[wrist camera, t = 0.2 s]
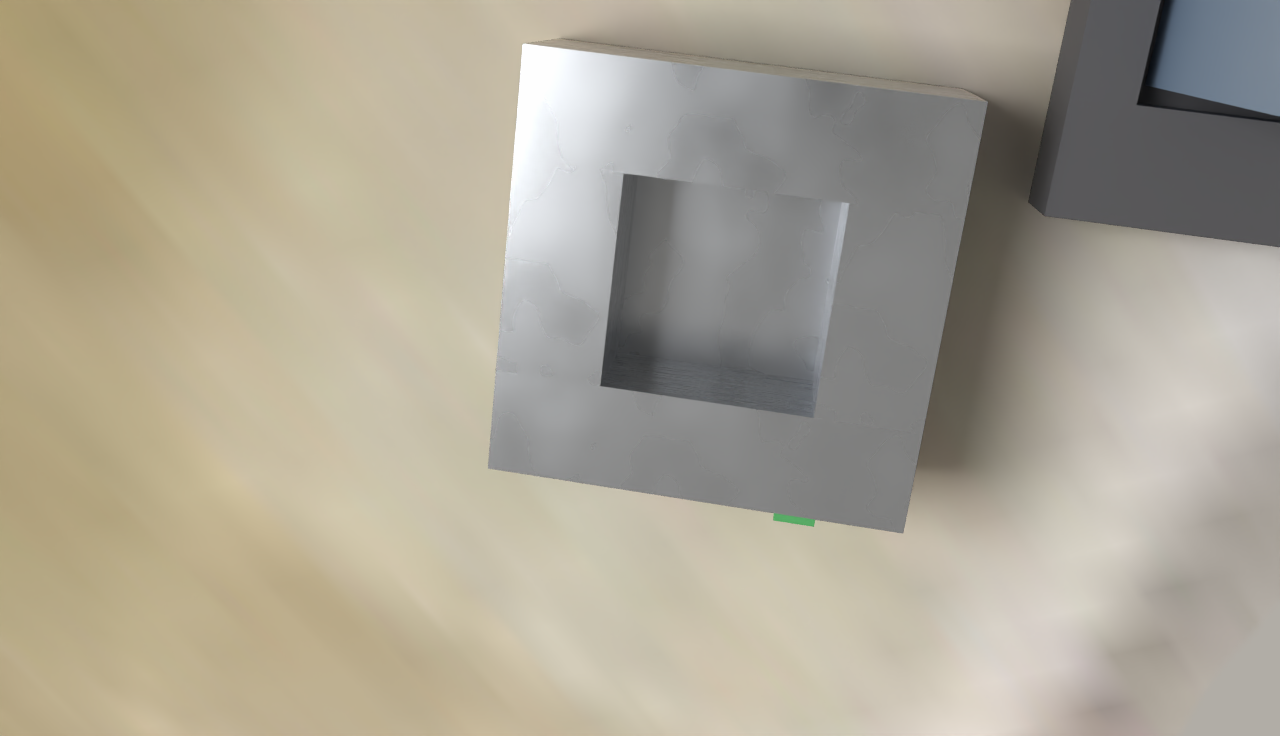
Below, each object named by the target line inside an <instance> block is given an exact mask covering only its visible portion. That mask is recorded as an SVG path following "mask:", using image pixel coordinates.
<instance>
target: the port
mask: <svg viewBox="0 0 1280 736" xmlns="http://www.w3.org/2000/svg"><path fill="white" fill-rule="evenodd" d="M987 104H988V101H986V100H984V99H982V98H980V97H978V96H976V95H974V94H972V93H970V92H968V91H966V90H964V89H961V88H953V87H945V86H937V85H929V84H921V83H913V82H905V81H897V80H889V79H881V78H873V77H865V76H857V75H849V74H840V73H832V72H824V71H816V70H808V69H800V68H792V67H784V66H776V65H768V64H760V63H752V62H744V61H736V60H728V59H720V58H712V57H704V56H696V55H688V54H680V53H672V52H664V51H655V50H647V49H639V48H631V47H623V46H615V45H607V44H599V43H591V42H583V41H575V40H567V39H552V40H545V41H538V42H531V43H524V44H523V49H522V61H521V73H520V86H519V98H518V110H517V122H516V134H515V146H514V158H513V171H512V183H511V195H510V207H509V219H508V231H507V243H506V256H505V268H504V280H503V292H502V304H501V316H500V328H499V341H498V353H497V365H496V377H495V389H494V401H493V413H492V426H491V438H490V450H489V462H488V468H489V469H495V470H502V471H508V472H515V473H521V474H527V475H534V476H540V477H546V478H553V479H559V480H566V481H572V482H578V483H585V484H591V485H598V486H604V487H610V488H617V489H623V490H629V491H636V492H642V493H649V494H655V495H661V496H668V497H674V498H680V499H687V500H693V501H700V502H706V503H712V504H719V505H725V506H731V507H738V508H744V509H751V510H757V511H763V512H770V513H774V515H773V520H775V521H781V522H787V523H794V524H800V525H806V526H813V527H814V523H815V520H821V521H827V522H834V523H840V524H846V525H853V526H859V527H865V528H872V529H878V530H885V531H891V532H897V533H903V532H904V527H905V522H906V517H907V512H908V506H909V501H910V496H911V491H912V486H913V481H914V476H915V471H916V466H917V461H918V456H919V451H920V445H921V440H922V435H923V430H924V425H925V420H926V415H927V410H928V405H929V400H930V395H931V389H932V384H933V379H934V374H935V369H936V364H937V359H938V354H939V349H940V344H941V339H942V333H943V328H944V323H945V318H946V313H947V308H948V303H949V298H950V293H951V288H952V283H953V277H954V272H955V267H956V262H957V257H958V252H959V247H960V242H961V237H962V232H963V227H964V222H965V216H966V211H967V206H968V201H969V196H970V191H971V186H972V181H973V176H974V171H975V166H976V160H977V155H978V150H979V145H980V140H981V135H982V130H983V125H984V120H985V115H986V110H987Z"/></svg>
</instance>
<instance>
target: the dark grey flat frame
mask: <svg viewBox="0 0 1280 736" xmlns="http://www.w3.org/2000/svg"><path fill="white" fill-rule="evenodd" d="M1164 1H1165V0H1071V3H1070V8H1069V12H1068V17H1067V22H1066V27H1065V31H1064V36H1063V41H1062V45H1061V50H1060V55H1059V60H1058V64H1057V69H1056V74H1055V79H1054V83H1053V88H1052V93H1051V98H1050V102H1049V107H1048V112H1047V116H1046V121H1045V126H1044V131H1043V135H1042V140H1041V145H1040V150H1039V154H1038V159H1037V164H1036V168H1035V173H1034V178H1033V183H1032V187H1031V192H1030V197H1029V203H1030V204H1031V205H1032V206H1034V207H1035V208H1036V209H1037V210H1038V211H1039V212H1040V213H1042V214H1043V215H1044V216H1049V217H1056V218H1064V219H1071V220H1079V221H1087V222H1094V223H1102V224H1109V225H1117V226H1124V227H1132V228H1139V229H1147V230H1154V231H1162V232H1169V233H1177V234H1185V235H1192V236H1200V237H1207V238H1215V239H1222V240H1230V241H1237V242H1245V243H1252V244H1260V245H1267V246H1275V247H1280V116H1275V115H1271V114H1267V113H1262V112H1258V111H1254V110H1250V109H1245V108H1241V107H1237V106H1232V105H1228V104H1224V103H1220V102H1215V101H1211V100H1207V99H1202V98H1198V97H1194V96H1190V95H1185V94H1181V93H1177V92H1172V91H1168V90H1164V89H1160V88H1155V87H1151V86H1147V85H1145V83H1146V78H1147V74H1148V70H1149V66H1150V61H1151V57H1152V53H1153V49H1154V44H1155V40H1156V36H1157V31H1158V27H1159V23H1160V19H1161V14H1162V10H1163V6H1164Z"/></svg>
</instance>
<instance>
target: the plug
mask: <svg viewBox="0 0 1280 736" xmlns="http://www.w3.org/2000/svg"><path fill="white" fill-rule="evenodd" d="M1145 85H1147V86H1151V87H1155V88H1160V89H1164V90H1168V91H1172V92H1177V93H1181V94H1185V95H1190V96H1194V97H1198V98H1202V99H1207V100H1211V101H1215V102H1220V103H1224V104H1228V105H1232V106H1237V107H1241V108H1245V109H1250V110H1254V111H1258V112H1262V113H1267V114H1271V115H1275V116H1280V0H1165V1H1164V6H1163V10H1162V14H1161V19H1160V23H1159V27H1158V31H1157V36H1156V40H1155V44H1154V49H1153V53H1152V57H1151V61H1150V66H1149V70H1148V74H1147V78H1146V83H1145Z"/></svg>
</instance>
